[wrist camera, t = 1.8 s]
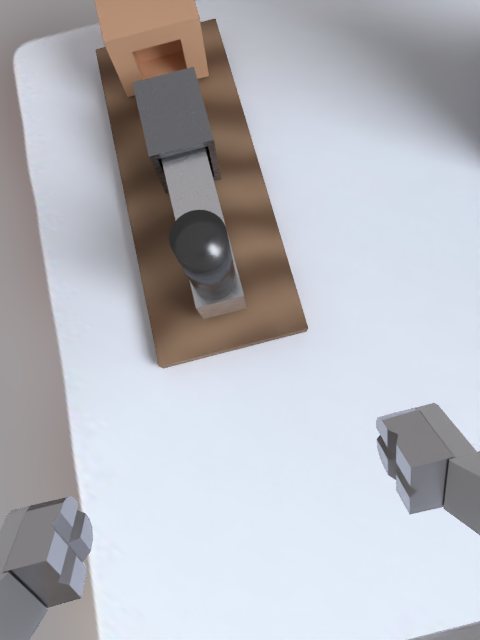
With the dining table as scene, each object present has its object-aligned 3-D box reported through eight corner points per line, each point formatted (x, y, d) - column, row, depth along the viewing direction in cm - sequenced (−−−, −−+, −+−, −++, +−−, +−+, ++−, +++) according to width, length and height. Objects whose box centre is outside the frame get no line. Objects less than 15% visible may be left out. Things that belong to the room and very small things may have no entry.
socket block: (209, 80, 42) (199, 16, 35) (129, 101, 42) (103, 42, 35) (197, 37, 43) (185, -32, 37) (120, 57, 43) (93, -8, 37)
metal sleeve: (221, 179, 39) (213, 139, 34) (165, 193, 39) (148, 156, 34) (203, 114, 41) (193, 66, 35) (150, 128, 41) (132, 82, 35)
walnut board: (306, 331, 37) (308, 328, 35) (163, 368, 37) (159, 366, 35) (216, 31, 45) (215, 18, 44) (101, 61, 45) (95, 49, 44)
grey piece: (246, 308, 35) (237, 257, 23) (203, 319, 35) (173, 274, 23) (195, 117, 40) (167, -4, 28) (158, 127, 40) (114, 10, 28)
